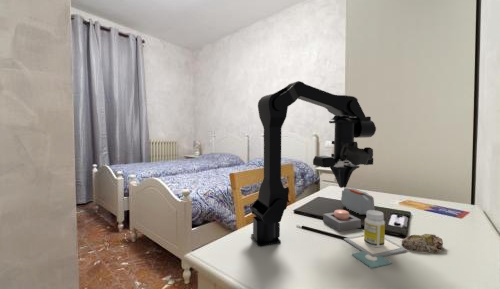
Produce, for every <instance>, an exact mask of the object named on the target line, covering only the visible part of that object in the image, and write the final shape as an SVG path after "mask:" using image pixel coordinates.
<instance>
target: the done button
mask: <svg viewBox="0 0 500 289" xmlns="http://www.w3.org/2000/svg"><path fill="white" fill-rule="evenodd" d="M333 211H334V217H335V218H337V219H338V220H340V221H341V220H348V219H349V214H350V212H349V210H344V209H335V210H333Z"/></svg>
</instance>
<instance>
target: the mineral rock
mask: <svg viewBox="0 0 500 289" xmlns="http://www.w3.org/2000/svg"><path fill="white" fill-rule="evenodd" d="M443 245H444V242H443V239H442V238H441V237H440V236H436V235H435V234H432V233H431V234H430V233H423V234H413V235H408V236H406V237H405V238H403V239H402V240H401V245H400V246H401V247H403V248H405V249H407V250H411V251H414V252H428V253H432V254H437V253H439V252H442V251H443V250H444V246H443Z"/></svg>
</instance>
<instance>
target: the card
mask: <svg viewBox="0 0 500 289" xmlns="http://www.w3.org/2000/svg"><path fill="white" fill-rule="evenodd" d="M351 256H353V257H354V258H356V259H357V260H359V261H360V262H361V263H363V264H364V265H365V266H367V267H368V268H370V269H375V268H380V267H384V266H389V265H391V264H392V263H393V262H392V261H390V260H389V259H387V258H385V256H383V257H382V256H377V257H372V256H370V255H368V254H367V253H365V252H364V251H358V252H353V253H351Z"/></svg>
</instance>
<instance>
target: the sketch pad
mask: <svg viewBox="0 0 500 289" xmlns="http://www.w3.org/2000/svg"><path fill="white" fill-rule="evenodd" d="M343 240H344V241H345V242H347V243H348V244H350V245H351V246H352V247H354V248H356V249H357V250H359V252H362V251H364V252H365V253H367V254H368V255H370V256H372V257H377V256H382V257H387V256H390V255H395V254H401V253H406V252H408V249H405V248H404V246H402V245H400V244H397V242H396V243H395V242H393V241H391V240H389V239H388V238H386V237H385V239H384V246H383V247H372V246H369V245H367V244H366V243H365V242H364V234H363V235H356V236H352V237H351V236H350V237H345V238H343Z"/></svg>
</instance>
